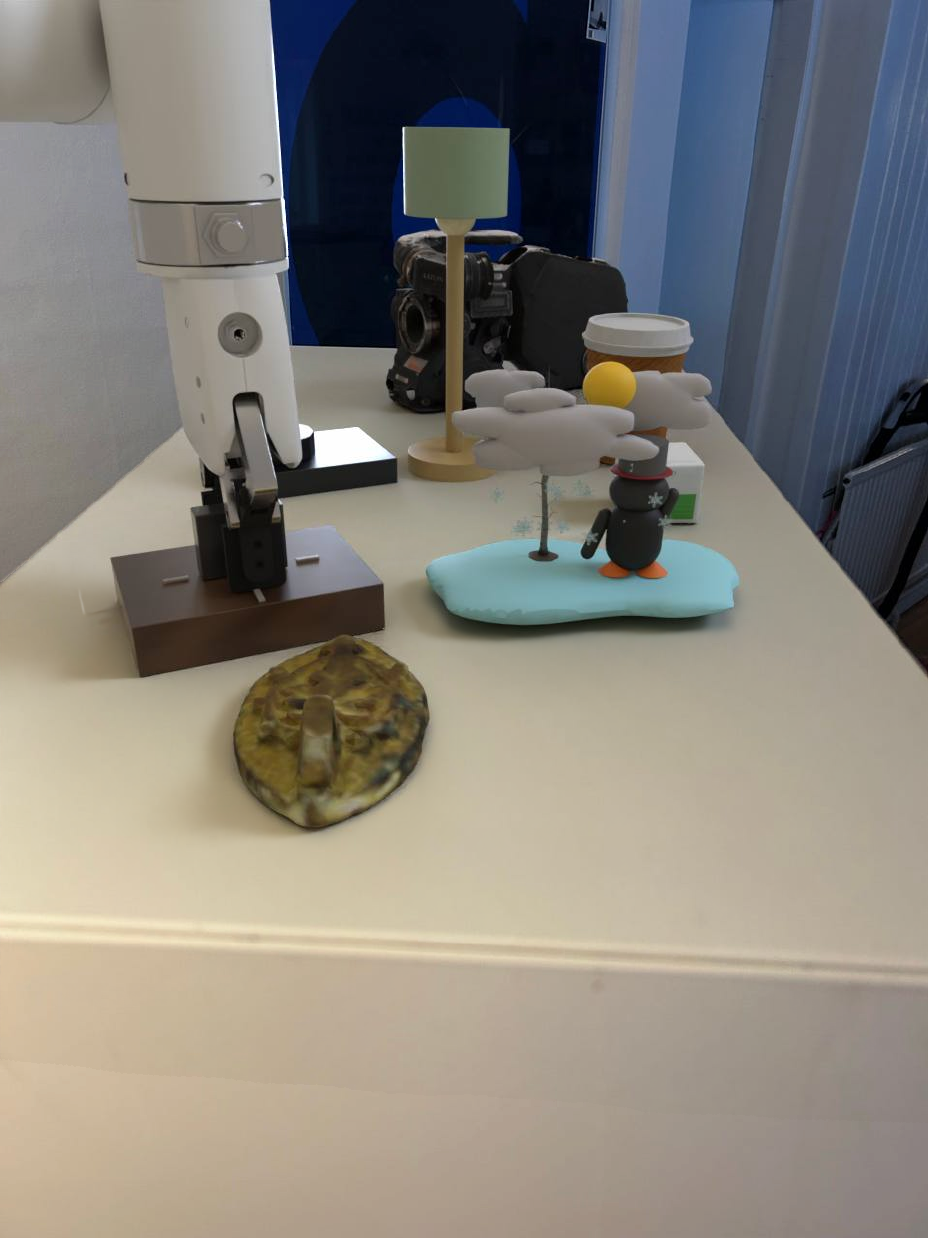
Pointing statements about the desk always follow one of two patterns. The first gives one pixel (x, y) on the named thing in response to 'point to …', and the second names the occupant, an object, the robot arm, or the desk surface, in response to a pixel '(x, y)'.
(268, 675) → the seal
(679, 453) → the small box
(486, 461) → the penguin figurine
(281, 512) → the dark grey block
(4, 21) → the robot arm
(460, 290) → the desk lamp
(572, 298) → the movie camera
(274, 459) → the switch block
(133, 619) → the dimmer panel
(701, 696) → the desk surface
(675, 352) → the disposable coffee cup
